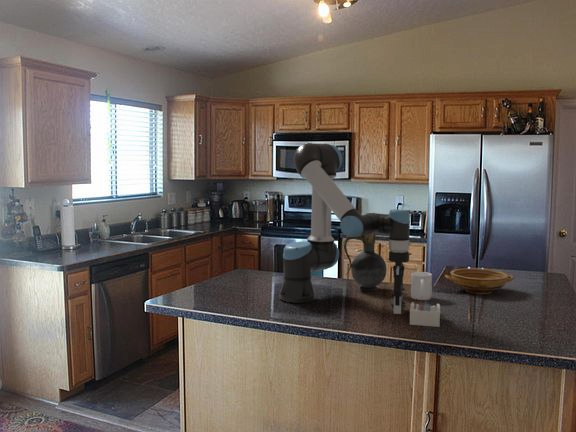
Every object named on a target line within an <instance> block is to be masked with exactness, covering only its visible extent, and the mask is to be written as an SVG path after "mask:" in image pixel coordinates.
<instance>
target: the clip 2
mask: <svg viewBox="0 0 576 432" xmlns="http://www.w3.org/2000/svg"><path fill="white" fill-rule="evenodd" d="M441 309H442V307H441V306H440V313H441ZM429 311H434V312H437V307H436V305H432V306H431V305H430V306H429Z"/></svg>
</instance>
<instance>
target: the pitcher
mask: <svg viewBox="0 0 576 432" xmlns="http://www.w3.org/2000/svg"><path fill="white" fill-rule="evenodd" d="M377 234H378V233H374V234H366V235H360V236H346V238H345V239H344V241H343V249H344V252H345V255H346V257H347V259H348V261H349V268H348V270H347V271H346V274H345V276H347V275H348V274H349V272H350V271H351V275H352V279H353V280H354V282H355V283H357V284H358V285H360V287H359V290H361V291H362V292H363V291H364V292H376V291H378V287H377V286H378V285H380V284H382V282H383V281H384V280H385V278H386V275H387V269H388V268H387V263H386V261H385V259H384V258H383V256H382V255H380V254H378V253H376V251H375V244H376V235H377ZM353 239H354V240H358V241H361V242H362V243H363V245H362V246H363V249H362V250H363V252H361V253H359V254H357V255H355V257H354V258H353V259H352V260H351V257H350V254H349V253H348V249H347V243H348V242H349V241H350V240H353Z"/></svg>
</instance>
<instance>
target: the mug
mask: <svg viewBox="0 0 576 432" xmlns="http://www.w3.org/2000/svg"><path fill="white" fill-rule="evenodd" d="M410 275H411V277H410V278H411V281H410V297H411V298H412V300H416V299H417V300H418V301H428V300H431V299H432V279H433V274H432V273H431V272H427V271H414V272H411V274H410Z"/></svg>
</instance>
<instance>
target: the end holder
mask: <svg viewBox="0 0 576 432" xmlns="http://www.w3.org/2000/svg"><path fill="white" fill-rule="evenodd" d="M410 304H411V308H410V307H409V325H410V326H423V327H435V328H436V327H437V328H440V325H441V324H440V323H441V320H440V319H441V312H440V307H441V306H440V305H441V304H440V303H436V308H437V312H434V311H430V310H421V309H420V310H416V309H415V301H412V302H411V303H410Z"/></svg>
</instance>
